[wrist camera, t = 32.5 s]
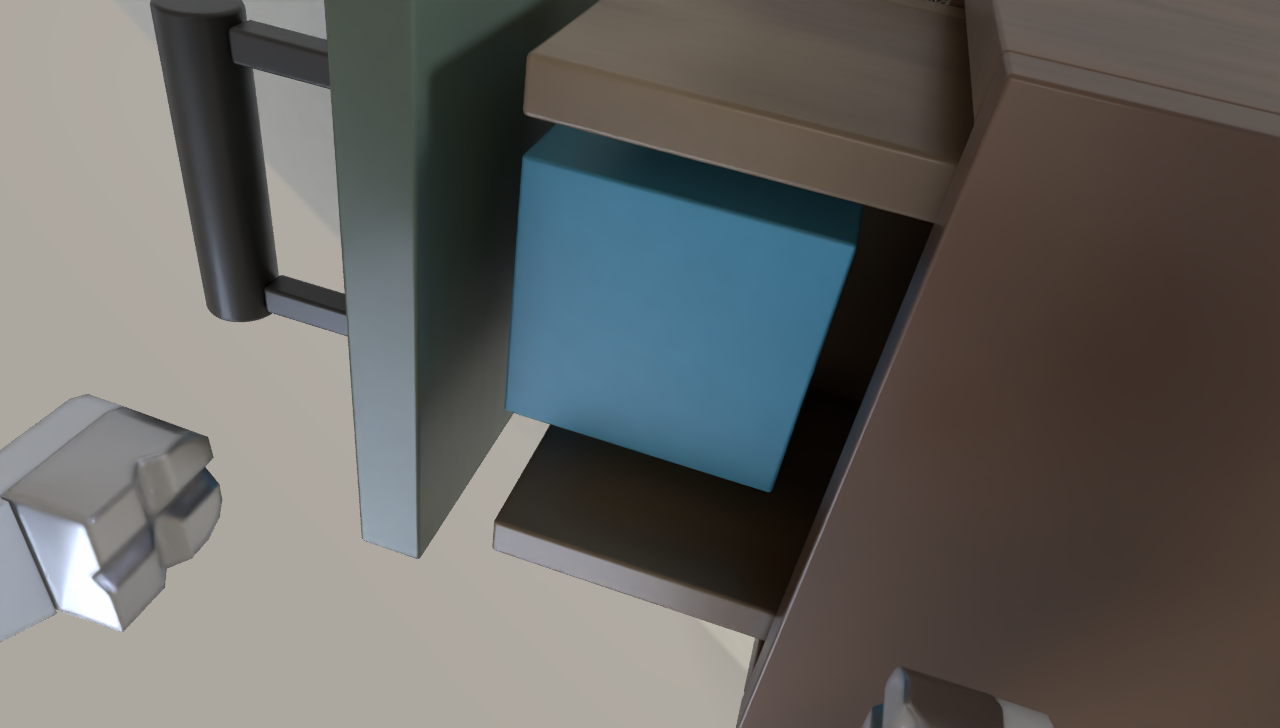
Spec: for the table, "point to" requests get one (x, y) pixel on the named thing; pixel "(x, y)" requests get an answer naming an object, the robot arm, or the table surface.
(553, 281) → the sky blue cube
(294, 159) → the table surface
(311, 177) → the table surface
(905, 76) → the green drawer
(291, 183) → the table surface
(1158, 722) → the cabinet
